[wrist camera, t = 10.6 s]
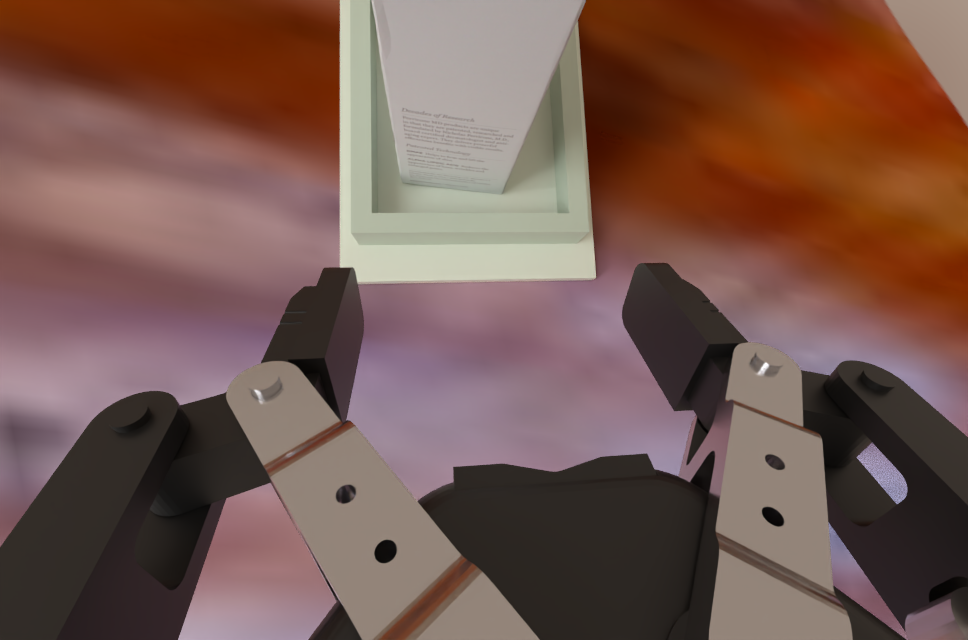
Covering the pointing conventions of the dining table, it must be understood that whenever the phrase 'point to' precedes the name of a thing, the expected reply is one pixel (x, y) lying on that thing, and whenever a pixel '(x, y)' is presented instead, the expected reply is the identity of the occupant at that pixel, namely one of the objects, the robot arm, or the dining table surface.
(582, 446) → the dining table surface
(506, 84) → the skincare box
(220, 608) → the dining table surface
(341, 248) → the tray
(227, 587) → the dining table surface
